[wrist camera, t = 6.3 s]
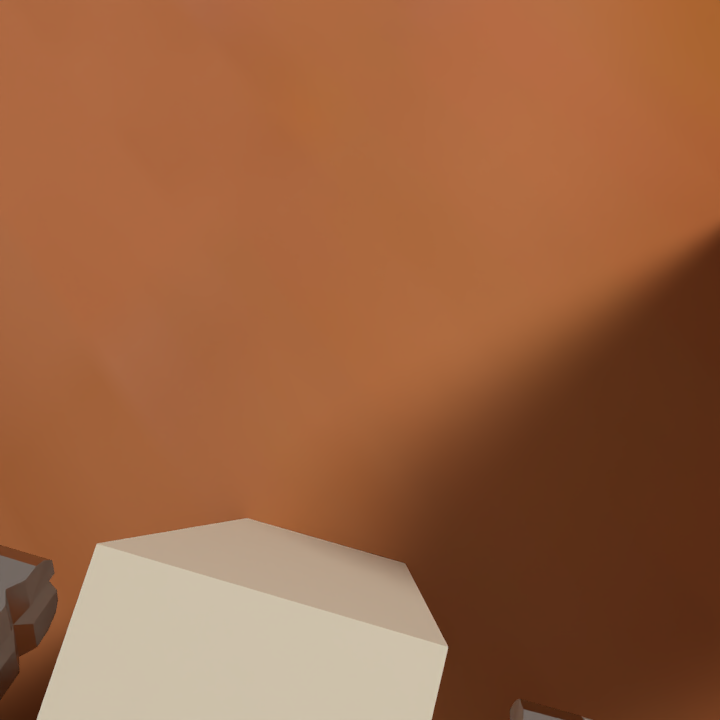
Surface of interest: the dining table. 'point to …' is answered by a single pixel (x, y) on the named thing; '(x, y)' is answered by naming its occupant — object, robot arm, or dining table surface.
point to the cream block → (245, 632)
